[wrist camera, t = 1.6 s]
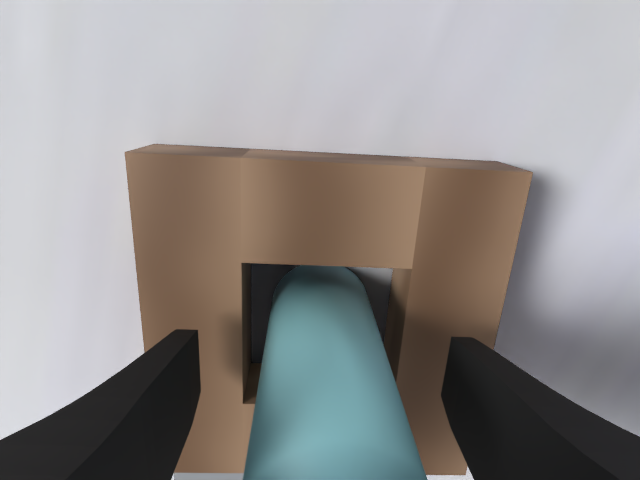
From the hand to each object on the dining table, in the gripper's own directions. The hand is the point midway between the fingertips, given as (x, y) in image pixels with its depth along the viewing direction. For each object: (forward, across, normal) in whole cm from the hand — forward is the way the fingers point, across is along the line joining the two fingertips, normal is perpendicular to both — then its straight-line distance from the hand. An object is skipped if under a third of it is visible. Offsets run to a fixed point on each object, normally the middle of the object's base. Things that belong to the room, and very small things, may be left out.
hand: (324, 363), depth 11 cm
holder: (+3, 0, 0) cm, 3 cm away
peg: (+3, 0, 0) cm, 3 cm away
